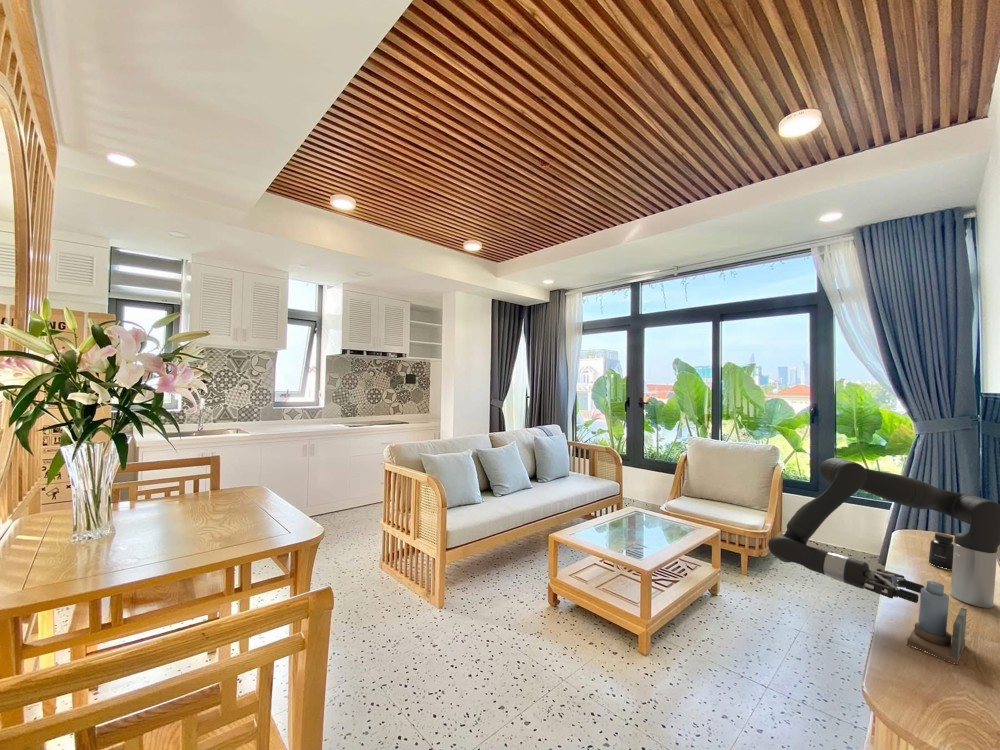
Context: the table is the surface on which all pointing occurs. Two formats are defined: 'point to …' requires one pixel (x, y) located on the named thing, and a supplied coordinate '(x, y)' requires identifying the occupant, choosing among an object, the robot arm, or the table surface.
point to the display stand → (942, 640)
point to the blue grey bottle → (933, 609)
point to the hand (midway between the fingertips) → (921, 594)
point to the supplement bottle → (941, 551)
